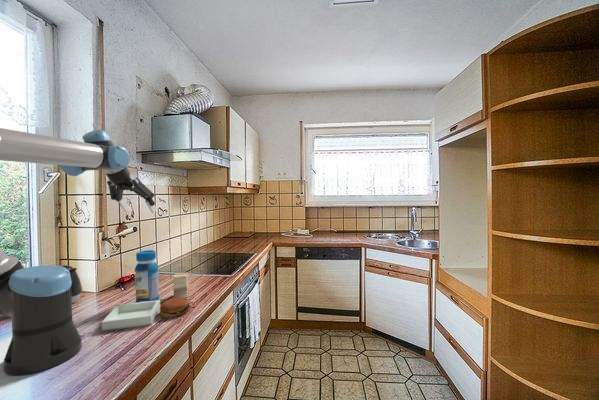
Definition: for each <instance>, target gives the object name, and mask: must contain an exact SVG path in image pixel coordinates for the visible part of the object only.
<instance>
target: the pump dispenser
mask: <svg viewBox="0 0 599 400" xmlns="http://www.w3.org/2000/svg"><path fill="white" fill-rule="evenodd" d="M61 266H62V267H65V268H66V269H68V270H69V272H70V277H71V281H72V284H71V294H72V304H74V303H76V302H78V301H79V299H80V297H81V295H82V293H83V286H82V283H81V279H80V276H79V275H78V273H77V269H78V268H76V267H73V266H71V265H67V264H65V265H61Z"/></svg>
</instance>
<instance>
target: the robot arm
mask: <svg viewBox="0 0 599 400" xmlns="http://www.w3.org/2000/svg"><path fill="white" fill-rule="evenodd" d="M82 140H83V141H78V140H71V139H67V138H62V137H55V136H49V135H44V134H36V133H32V132H26V131H21V130H20V131H19V130H14V129H9V128H1V127H0V161H6V162H15V163H17V162H19V163H30V164H43V165H55V166H58V167H59V168H60V169H61V171H62V172H63V173H64V174H66V175H69V176H71V177H78V176H79V175H82V174H84V172H87V171H101V170H102V171H103V172H104V174H105V175H106V176H107V178H108V179H109V180H107V181H106V184H107V185H108V189H109V195H110V200H111V201H114V200H115V202H117V203H118V204H119V206H120V207H121V208H122V210H123V211H124V212H125V214H129V213H130V212H131V211H132V208H131V206H130V204H129V203H128V202H127V200H126V198H125V197H123V194H124V191H130V192H132V193H133V192H134V193H135V194H136V195H138V196H139V197H141V198H142V199H144V200H145V201H144V202H145V203H146V205H147V207H148V209H149V210H150V212H151V213H152V214H155V212H157V211H158V208H157V205H155V204H156V203H155V201H154V199H153V198H154V197H155V194H154V192H152V190H150V189H149V188H148V187H147V186H146V185H145V184H144V183H142V181H141V180H140V179H139V178H138V177H135V178H134V179H133V178H132V177H131V172H130V170H129V169H128V166H129V163H130V160H131V158H130V157H131V156H130V154H129V151H128V150H127V149H126V148H125V147H123V146H122V145H114V143H113V141H112V139H111V138H110V137H109V135H108V134H107V133H106V131H104V130H102V129H97V130H92V131H89V132H86V133H84V134H83V136H82ZM62 266H63V265H54V264H53V265H52V264H49V265H34V266H29V267H24V265H23V264H22V262H21V261H20V260H19V258H18V257H17V256H12V255H7V254H6V253H5V252H4V250H3V249H2V248H1V247H0V317H7V318H8V317H9V318H11V329H12V331H11V332H12V334H11V335H12V337H11V340H10V342H9V345H8V348H7V351H6V354H5V356H4V359H3V363H2V364H3V373H5V374H6V375H8V376H9V375H10V376H24V375H29V374H34V373H38V372H41V371H44V370H45V371H46V370H48V369H51V368H54V367H56V366H58V365H61V364H62V363H64V362H67V361H68V360H70V359H72V358H73V357H74V356H77V354H78V353H79V352H81V350H82V346H83V344H82V343H83V342H82V337H81V334H80V333H79V331H78V329H77V327H76V325H75V322H74V321H73V303H72V294H71V284H72V281H71V277H70V272H69V270H68V269H66V268H65V267H62Z"/></svg>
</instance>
